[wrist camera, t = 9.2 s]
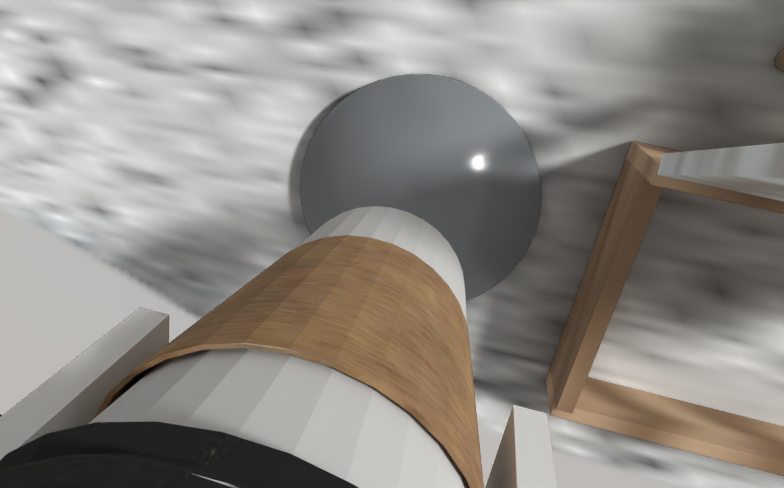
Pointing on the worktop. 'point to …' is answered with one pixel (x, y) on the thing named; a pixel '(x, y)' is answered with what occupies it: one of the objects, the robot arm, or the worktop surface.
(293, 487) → the coffee cup
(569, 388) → the frame
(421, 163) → the disc
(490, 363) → the worktop surface
